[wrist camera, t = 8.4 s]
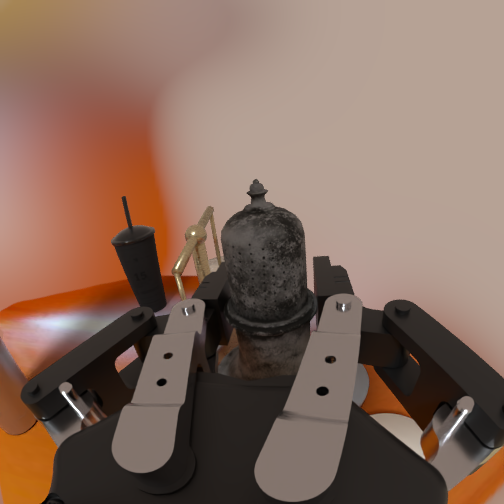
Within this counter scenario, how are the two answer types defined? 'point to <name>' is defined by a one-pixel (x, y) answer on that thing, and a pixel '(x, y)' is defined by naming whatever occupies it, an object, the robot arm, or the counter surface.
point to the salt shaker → (266, 290)
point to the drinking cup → (140, 262)
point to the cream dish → (402, 429)
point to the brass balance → (202, 264)
